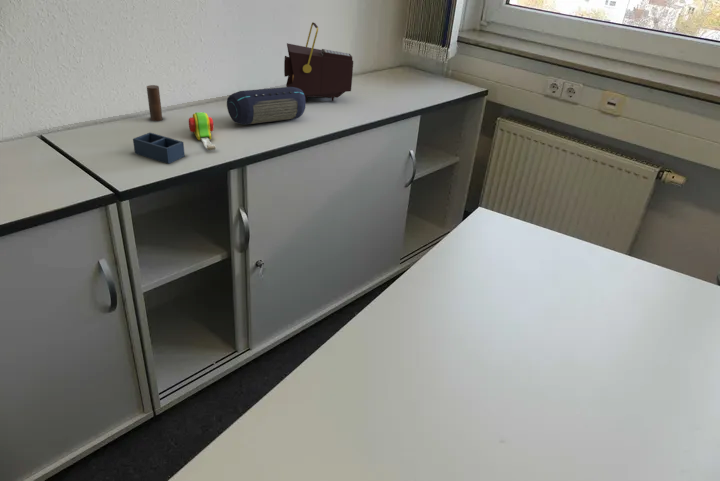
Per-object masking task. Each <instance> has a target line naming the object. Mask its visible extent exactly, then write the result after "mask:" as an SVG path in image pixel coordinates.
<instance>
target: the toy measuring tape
mask: <svg viewBox="0 0 720 481" xmlns="http://www.w3.org/2000/svg"><path fill="white" fill-rule="evenodd" d="M214 127H215V126H214V120H213V118H212V116H209V115H208V113H207V112H204V111H203V112H201V111H199V112H195V113H193V114H192V116H191V117H189V118H188V129H189V132H190V133H193V134H194V136H195V138H196V139H197V141H201V142H202V144H203V146H204V148H205V149H206V150H207V151H215V150H216V148H217V146H216V144H213V143H212V142H211V141H210V140H212V133H211V132H213V131H214Z"/></svg>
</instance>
